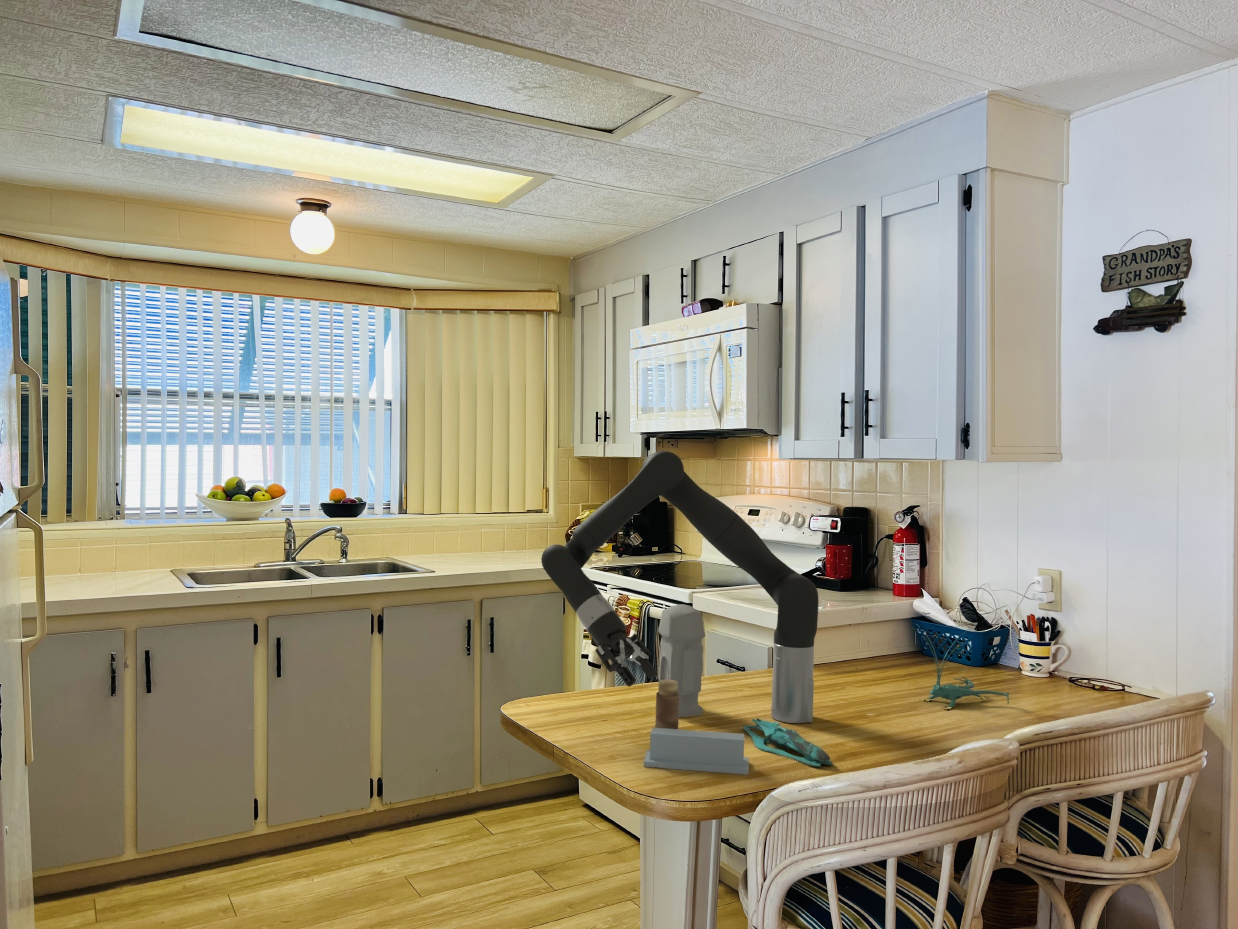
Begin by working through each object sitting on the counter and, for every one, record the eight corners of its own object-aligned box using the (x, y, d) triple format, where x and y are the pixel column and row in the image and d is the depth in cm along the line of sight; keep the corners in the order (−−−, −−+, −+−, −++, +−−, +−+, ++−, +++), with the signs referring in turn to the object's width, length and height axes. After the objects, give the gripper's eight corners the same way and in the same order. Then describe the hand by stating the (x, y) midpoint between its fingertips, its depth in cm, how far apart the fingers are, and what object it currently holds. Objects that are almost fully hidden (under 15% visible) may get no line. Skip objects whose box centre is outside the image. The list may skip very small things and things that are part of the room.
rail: (748, 762, 179) (749, 732, 179) (748, 774, 172) (749, 743, 172) (647, 754, 182) (648, 725, 182) (643, 766, 175) (644, 735, 175)
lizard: (880, 697, 234) (881, 617, 233) (958, 689, 243) (959, 612, 242) (941, 723, 212) (942, 635, 212) (1024, 713, 221) (1025, 628, 221)
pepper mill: (678, 738, 193) (680, 680, 193) (676, 745, 188) (678, 685, 188) (656, 737, 193) (657, 678, 193) (653, 744, 189) (655, 684, 189)
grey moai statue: (713, 717, 210) (717, 609, 209) (673, 721, 206) (677, 610, 205) (684, 700, 223) (687, 599, 223) (646, 704, 219) (649, 600, 219)
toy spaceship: (803, 778, 174) (805, 752, 174) (724, 732, 199) (725, 709, 199) (849, 770, 180) (851, 746, 179) (767, 726, 204) (768, 704, 204)
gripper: (592, 613, 193) (636, 676, 187) (628, 605, 205) (671, 664, 199) (571, 635, 196) (614, 697, 190) (608, 626, 208) (649, 684, 201)
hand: (643, 680), depth 194 cm, fingers open, 8 cm apart
